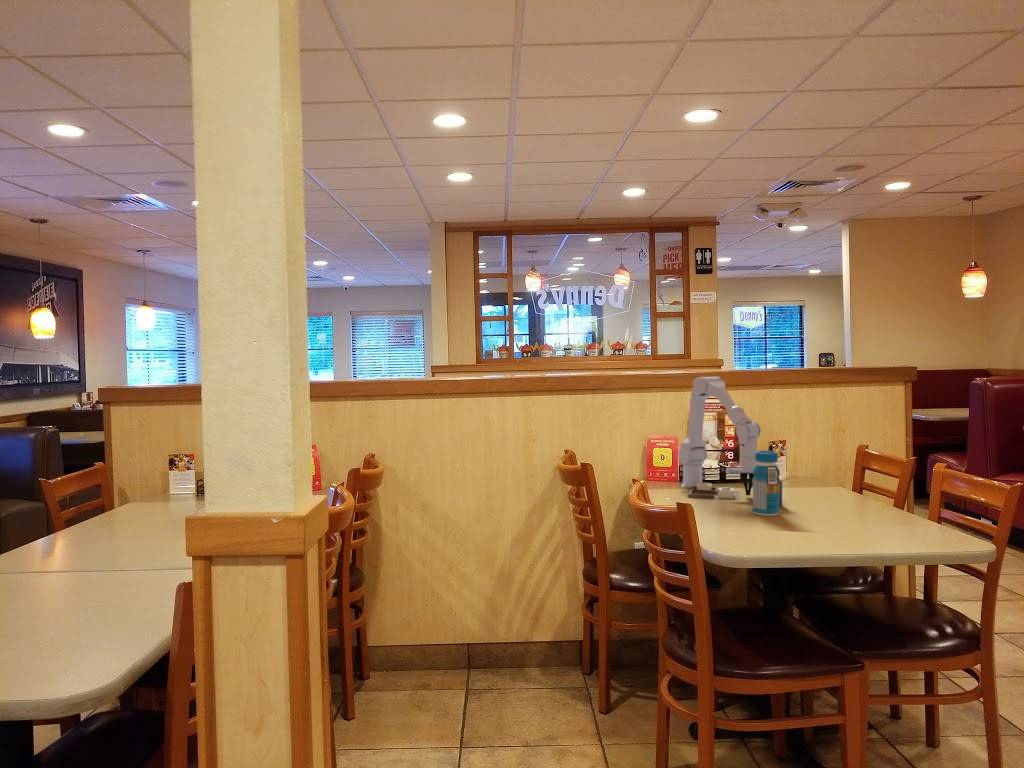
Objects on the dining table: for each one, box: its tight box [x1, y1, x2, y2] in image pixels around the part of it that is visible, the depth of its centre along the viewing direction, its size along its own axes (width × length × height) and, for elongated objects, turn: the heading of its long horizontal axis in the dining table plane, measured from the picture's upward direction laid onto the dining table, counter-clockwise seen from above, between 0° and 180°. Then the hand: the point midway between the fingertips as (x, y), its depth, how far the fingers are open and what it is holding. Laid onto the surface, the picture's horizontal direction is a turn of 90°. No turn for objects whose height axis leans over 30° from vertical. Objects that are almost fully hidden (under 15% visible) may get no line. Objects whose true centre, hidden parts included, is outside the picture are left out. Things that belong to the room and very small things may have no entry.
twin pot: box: [697, 481, 713, 490], centre depth 281 cm, size 5×5×3 cm
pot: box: [718, 486, 734, 498], centre depth 271 cm, size 5×5×3 cm
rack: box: [686, 486, 741, 501], centre depth 276 cm, size 17×18×2 cm
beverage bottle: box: [752, 450, 781, 517], centre depth 244 cm, size 8×8×20 cm
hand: (748, 494), depth 269 cm, fingers closed
